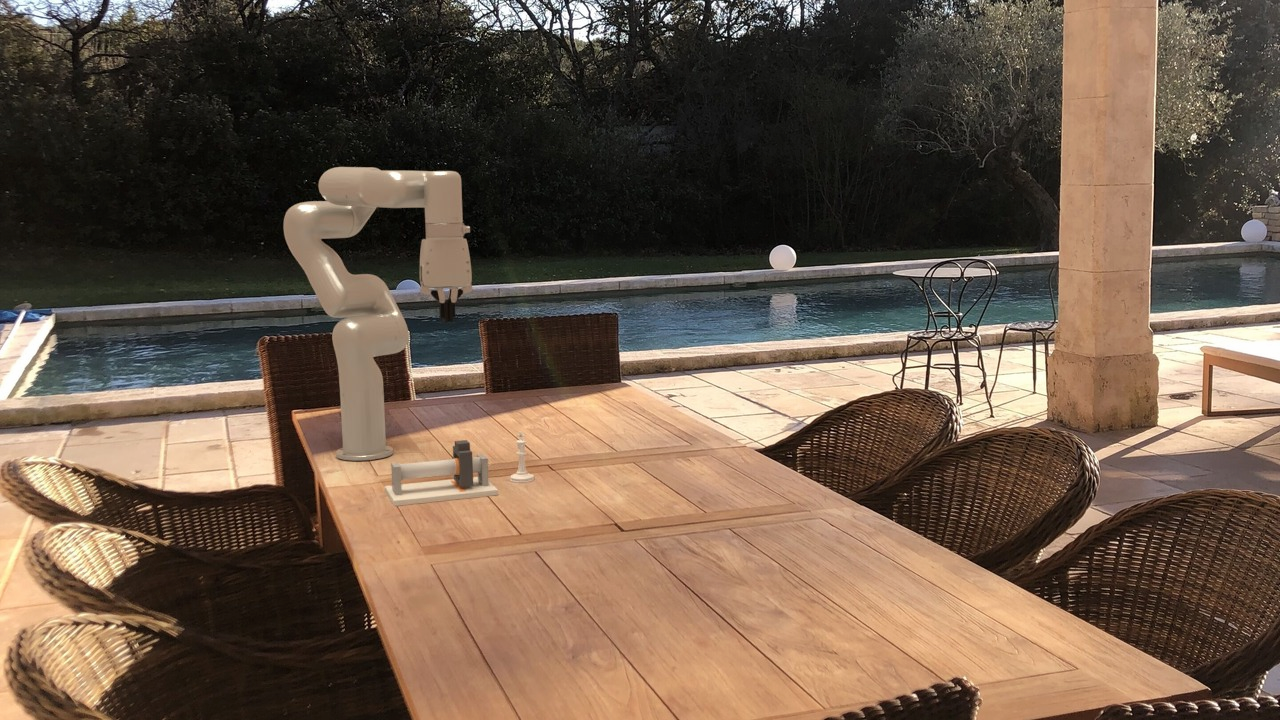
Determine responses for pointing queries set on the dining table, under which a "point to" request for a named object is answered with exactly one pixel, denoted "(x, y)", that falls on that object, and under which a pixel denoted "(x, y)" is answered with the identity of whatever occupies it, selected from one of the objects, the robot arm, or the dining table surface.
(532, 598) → the dining table surface
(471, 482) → the dark grey notched block
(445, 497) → the rail
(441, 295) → the robot arm
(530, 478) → the chess piece
